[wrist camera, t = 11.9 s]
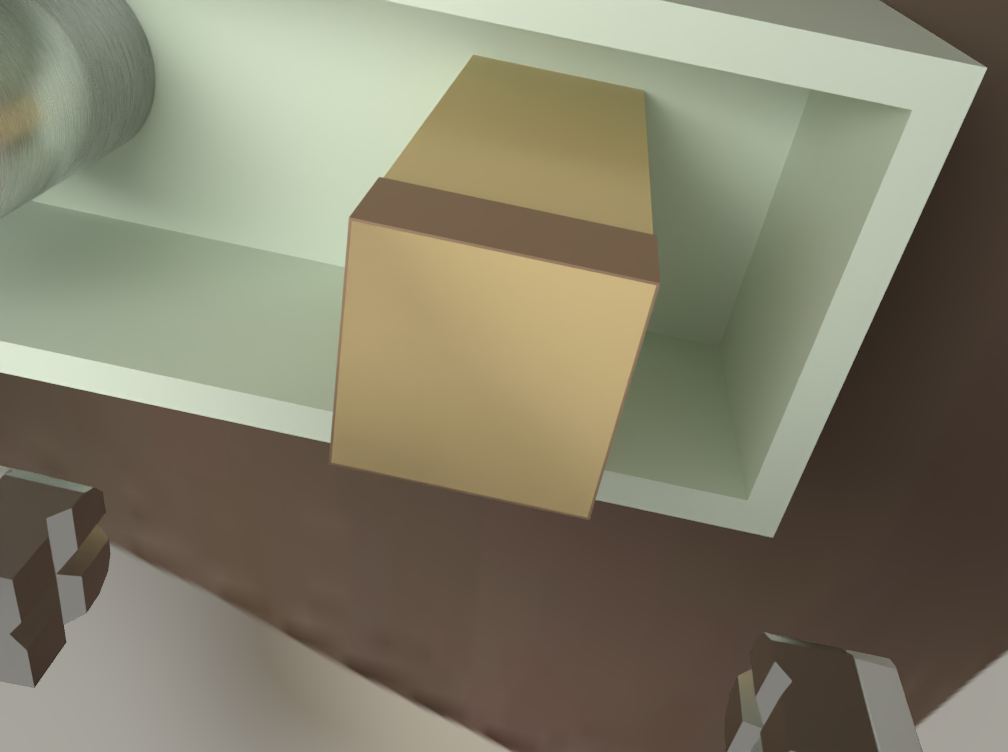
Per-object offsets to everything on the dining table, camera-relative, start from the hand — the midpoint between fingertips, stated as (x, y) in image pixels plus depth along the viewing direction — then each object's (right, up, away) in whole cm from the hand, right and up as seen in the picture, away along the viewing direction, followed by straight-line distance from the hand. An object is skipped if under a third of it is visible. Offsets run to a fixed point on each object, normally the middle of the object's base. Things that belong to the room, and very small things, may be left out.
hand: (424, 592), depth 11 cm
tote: (-4, +11, +17) cm, 20 cm away
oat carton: (+2, +9, +16) cm, 18 cm away
